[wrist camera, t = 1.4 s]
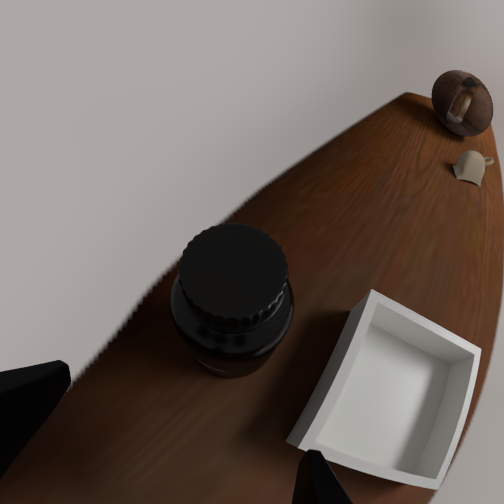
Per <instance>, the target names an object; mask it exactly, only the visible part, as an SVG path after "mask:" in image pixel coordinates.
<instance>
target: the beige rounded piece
mask: <svg viewBox="0 0 504 504" xmlns="http://www.w3.org/2000/svg"><path fill="white" fill-rule="evenodd" d="M485 160H491V161H489V162H485ZM492 163H493V158H491V157H484V158H483V157H482V155H481V154H480V153H478V152H476V151H474V150H468V151H465V152H464V153H462V154H461V156H460V157H459V158H458V161H457V164H456V165H454V166H453V169H454V172H455V175H456V178H457V179H462V180H468V181H472V182H474V183H476V184H477V185H479V186H481V184H480V182H481V180H482V177H483V175H484V170H485V166H487V165H490V164H492Z"/></svg>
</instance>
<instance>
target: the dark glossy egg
mask: <svg viewBox="0 0 504 504" xmlns="http://www.w3.org/2000/svg"><path fill="white" fill-rule="evenodd" d="M432 104H433V108H434V111H435V113H436V115H437V117H438V118H439V120H440V121H441V122H442V123H443V125H444V126H445V127H447V128H448V129H449V130H451V131H452V132H454V133H456V134H458V135H462V136H476V135H478V134H481V133H482V132H484V131H485V130H486V129H487V128H488V126H489V125H490V123H491V120H492V117H493V103H492V99H491V96H490V94H489V92H488V90H487V88H486V87H485V86H484V84H483V83H482V82H481V81H480V80H479V79H478V78H476V77H475V76H474V75H472V74H470V73H467V72H465V71H461V70H451V71H448V72H445V73H443V74H442V75H441V76H440V77H438V79H437V80H436V82H435V83H434V86H433V89H432Z"/></svg>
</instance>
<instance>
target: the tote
mask: <svg viewBox="0 0 504 504" xmlns="http://www.w3.org/2000/svg"><path fill="white" fill-rule="evenodd" d="M480 355H481V349H480V348H478V347H476V346H475V345H473V344H471V343H469V342H468V341H466V340H464V339H462V338H460V337H459V336H457V335H455V334H453V333H451V332H450V331H448V330H446V329H444V328H443V327H441V326H439V325H437V324H435V323H433V322H432V321H430V320H428V319H426V318H424V317H423V316H421V315H419V314H417V313H415V312H413V311H412V310H410V309H408V308H406V307H404V306H402V305H400V304H399V303H397V302H395V301H393V300H391V299H389V298H387V297H386V296H384V295H382V294H380V293H378V292H376V291H374V290H372V289H371V290H370V291H369V292H368V293H367V295H366V296H365V297H364V298H363V299H362V300H361V301H360V302H359V303H358V304H357V305H356V306H355V307H354V308H353V309H352V310H351V312H350V314H349V316H348V319H347V321H346V323H345V326H344V328H343V330H342V333H341V335H340V337H339V340H338V342H337V344H336V346H335V348H334V351H333V353H332V355H331V357H330V359H329V361H328V363H327V365H326V367H325V369H324V372H323V374H322V376H321V378H320V380H319V382H318V383H317V385H316V387H315V389H314V391H313V393H312V395H311V397H310V399H309V401H308V403H307V404H306V406H305V408H304V410H303V412H302V414H301V415H300V417H299V419H298V421H297V422H296V424H295V426H294V428H293V429H292V431H291V433H290V434H289V436H288V438H287V439H286V441H285V442H287V443H289V444H291V445H293V446H295V447H297V448H299V449H302V450H304V451H307V450H309V449H314V450H319V451H321V452H322V454H323V456H324V457H325V459H327V460H329V461H332V462H335V463H337V464H340V465H343V466H346V467H349V468H352V469H355V470H358V471H361V472H364V473H368V474H371V475H375V476H378V477H382V478H385V479H389V480H393V481H397V482H401V483H406V484H410V485H415V486H420V487H425V488H430V489H436V490H438V489H439V486H440V484H441V482H442V480H443V478H444V476H445V474H446V471H447V469H448V467H449V464H450V462H451V459H452V457H453V454H454V452H455V449H456V446H457V444H458V441H459V438H460V435H461V432H462V429H463V426H464V423H465V420H466V416H467V413H468V409H469V406H470V402H471V398H472V394H473V390H474V386H475V381H476V376H477V371H478V366H479V361H480Z"/></svg>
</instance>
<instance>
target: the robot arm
mask: <svg viewBox="0 0 504 504" xmlns="http://www.w3.org/2000/svg"><path fill="white" fill-rule="evenodd" d="M70 384H71V376H70V371H69V366H68V365H67V364H66V363H65V362H63V361H61V360H56V361H52V362H48V363H43V364H38V365H34V366H28V367H24V368H18V369H13V370H7V371H2V372H0V479H1V477H2V476H3V474H4V473H5V472H6V470H7V469H8V468H9V466H10V465H11V464H12V462H13V461H14V460H15V458H16V457H17V456H18V455H19V453H20V452H21V451H22V449H23V448H24V447H25V445H26V444H27V443H28V442H29V440H30V439H31V438H32V437H33V435H34V434H35V433H36V432H37V430H38V429H39V428H40V427H41V425H42V424H43V423H44V422H45V420H46V419H47V418H48V417H49V416H50V414H51V413H52V412H53V410H54V409H55V407H56V406H57V404H58V403H59V401H60V400H61V398H62V397H63V395H64V393H65V392H66V390H67V389H68V387H69V386H70ZM292 504H353V503H352V501H351V500H350V498H349V496H348V495H347V493H346V492H345V490H344V489H343V487H342V485H341V484H340V482H339V480H338V479H337V477H336V476H335V474H334V472H333V471H332V469H331V467H330V466H329V464H328V462H327V461H326V459H325V457H324V456H323V454H322V452H321V451H319V450H314V449H309V450H307V452H306V453H305V455H304V456H303V458H302V459H301V461H300V463H299V466H298V471H297V477H296V483H295V488H294V493H293V499H292Z"/></svg>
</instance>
